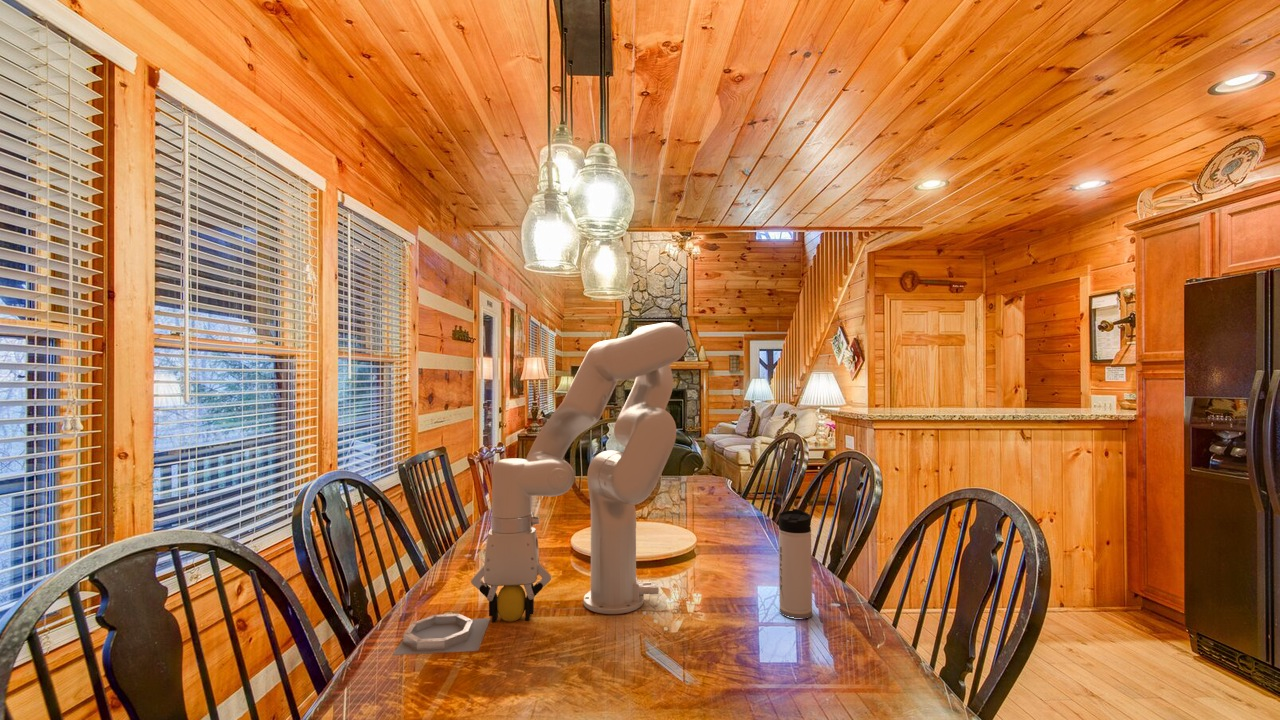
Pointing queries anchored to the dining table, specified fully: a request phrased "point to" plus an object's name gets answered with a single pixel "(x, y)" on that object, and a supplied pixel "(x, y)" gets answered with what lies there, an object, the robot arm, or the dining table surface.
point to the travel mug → (795, 564)
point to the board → (446, 631)
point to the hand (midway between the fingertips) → (511, 617)
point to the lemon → (511, 602)
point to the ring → (438, 643)
